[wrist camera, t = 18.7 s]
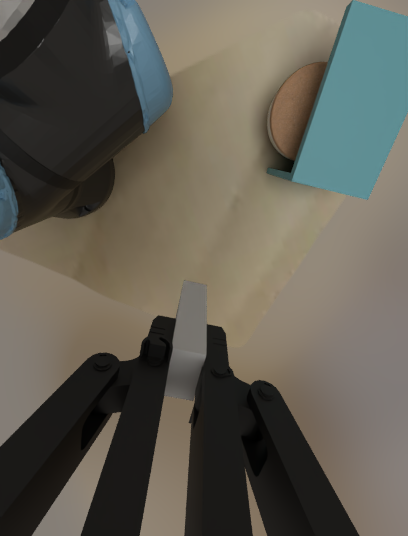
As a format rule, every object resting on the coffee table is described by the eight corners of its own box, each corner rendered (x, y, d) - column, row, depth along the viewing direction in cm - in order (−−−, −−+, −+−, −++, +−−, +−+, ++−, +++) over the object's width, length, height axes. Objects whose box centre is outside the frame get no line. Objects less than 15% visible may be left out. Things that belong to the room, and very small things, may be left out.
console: (266, 172, 42) (291, 181, 30) (302, 53, 36) (353, -1, 24) (320, 186, 43) (367, 199, 30) (364, 70, 37) (446, 28, 24)
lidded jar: (255, 89, 38) (269, 70, 29) (333, 70, 37) (371, 44, 28) (264, 168, 42) (278, 172, 33) (334, 153, 41) (368, 153, 32)
